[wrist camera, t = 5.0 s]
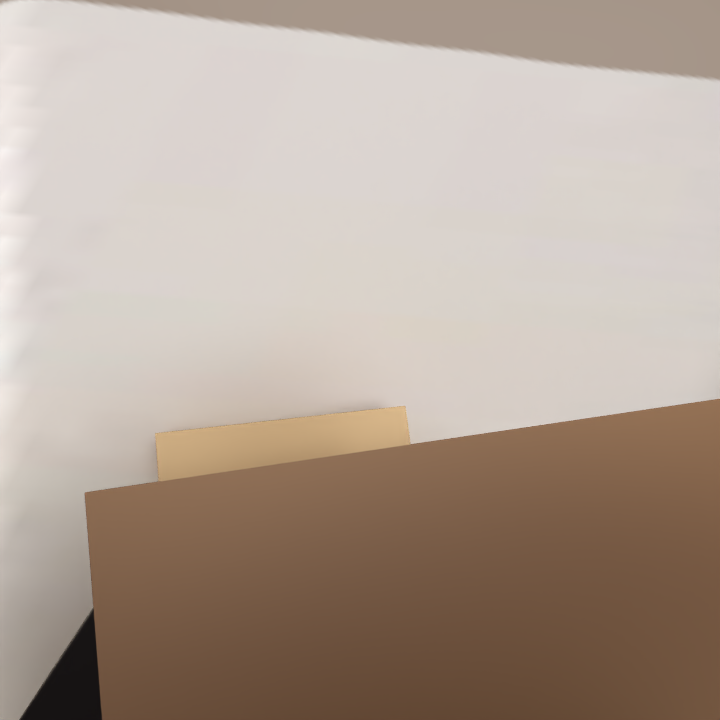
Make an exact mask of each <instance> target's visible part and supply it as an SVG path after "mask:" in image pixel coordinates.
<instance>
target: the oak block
mask: <svg viewBox="0 0 720 720" xmlns="http://www.w3.org/2000/svg"><path fill="white" fill-rule="evenodd" d="M155 437H156V451H157V465H158V478H159V481H166V480H173V479H180V478H187V477H193V476H200V475H207V474H214V473H220V472H227V471H234V470H241V469H248V468H254V467H261V466H268V465H275V464H281V463H288V462H295V461H302V460H309V459H315V458H322V457H329V456H336V455H342V454H349V453H356V452H363V451H370V450H376V449H383V448H390V447H397V446H403V445H410V437H409V430H408V423H407V415H406V408H405V406H400V407H391V408H382V409H372V410H363V411H354V412H345V413H336V414H327V415H318V416H309V417H300V418H291V419H281V420H272V421H263V422H254V423H245V424H236V425H227V426H218V427H209V428H199V429H190V430H181V431H172V432H163V433H155Z"/></svg>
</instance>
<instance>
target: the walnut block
mask: <svg viewBox="0 0 720 720" xmlns="http://www.w3.org/2000/svg"><path fill="white" fill-rule="evenodd" d="M85 503H86V516H87V529H88V542H89V555H90V568H91V581H92V594H93V607H94V620H95V633H96V646H97V659H98V672H99V685H100V698H101V711H102V720H720V399H715V400H708V401H702V402H695V403H688V404H681V405H675V406H668V407H661V408H654V409H647V410H641V411H634V412H627V413H620V414H614V415H607V416H600V417H593V418H586V419H580V420H573V421H566V422H559V423H553V424H546V425H539V426H532V427H525V428H519V429H512V430H505V431H498V432H492V433H485V434H478V435H471V436H464V437H458V438H451V439H444V440H437V441H431V442H424V443H417V444H410V445H403V446H397V447H390V448H383V449H376V450H370V451H363V452H356V453H349V454H342V455H336V456H329V457H322V458H315V459H309V460H302V461H295V462H288V463H281V464H275V465H268V466H261V467H254V468H248V469H241V470H234V471H227V472H220V473H214V474H207V475H200V476H193V477H187V478H180V479H173V480H166V481H159V482H153V483H146V484H139V485H132V486H126V487H119V488H112V489H105V490H98V491H92V492H85Z"/></svg>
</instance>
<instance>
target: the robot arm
mask: <svg viewBox="0 0 720 720" xmlns="http://www.w3.org/2000/svg"><path fill="white" fill-rule="evenodd" d="M19 720H102V711H101V698H100V685H99V672H98V659H97V646H96V633H95V620H94V607H93V609H92V610H91V612H90V613H89V615H88V616H87V618H86V619H85V621H84V622H83V624H82V625H81V627H80V628H79V630H78V631H77V633H76V634H75V636H74V638H73V639H72V641H71V642H70V644H69V645H68V647H67V648H66V650H65V651H64V653H63V654H62V656H61V657H60V659H59V660H58V662H57V663H56V665H55V666H54V668H53V669H52V671H51V672H50V674H49V675H48V677H47V678H46V680H45V681H44V683H43V685H42V686H41V688H40V689H39V691H38V692H37V694H36V695H35V697H34V698H33V700H32V701H31V703H30V704H29V706H28V707H27V709H26V710H25V712H24V713H23V715H22V716H21V718H20V719H19Z"/></svg>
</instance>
